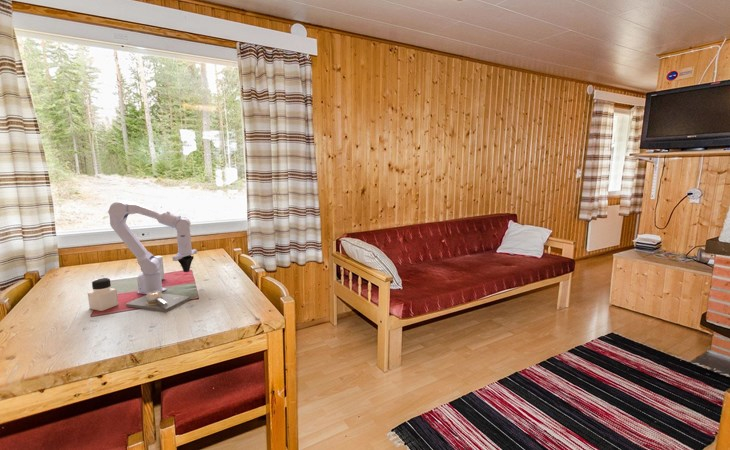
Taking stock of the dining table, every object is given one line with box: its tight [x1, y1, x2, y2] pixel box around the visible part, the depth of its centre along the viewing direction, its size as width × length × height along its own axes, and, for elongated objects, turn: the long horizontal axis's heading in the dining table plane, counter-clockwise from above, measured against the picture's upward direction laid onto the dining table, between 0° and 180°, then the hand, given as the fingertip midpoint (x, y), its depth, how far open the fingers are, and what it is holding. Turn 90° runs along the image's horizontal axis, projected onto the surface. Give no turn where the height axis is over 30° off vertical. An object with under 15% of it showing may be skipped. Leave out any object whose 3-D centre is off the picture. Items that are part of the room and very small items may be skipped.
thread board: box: [125, 292, 191, 313], centre depth 153 cm, size 20×14×1 cm
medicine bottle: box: [87, 277, 119, 312], centre depth 147 cm, size 7×7×12 cm
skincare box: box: [154, 255, 165, 280], centre depth 181 cm, size 6×4×12 cm
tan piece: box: [146, 291, 168, 308], centre depth 148 cm, size 14×6×4 cm, turn 50°
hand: (186, 271), depth 169 cm, fingers closed
